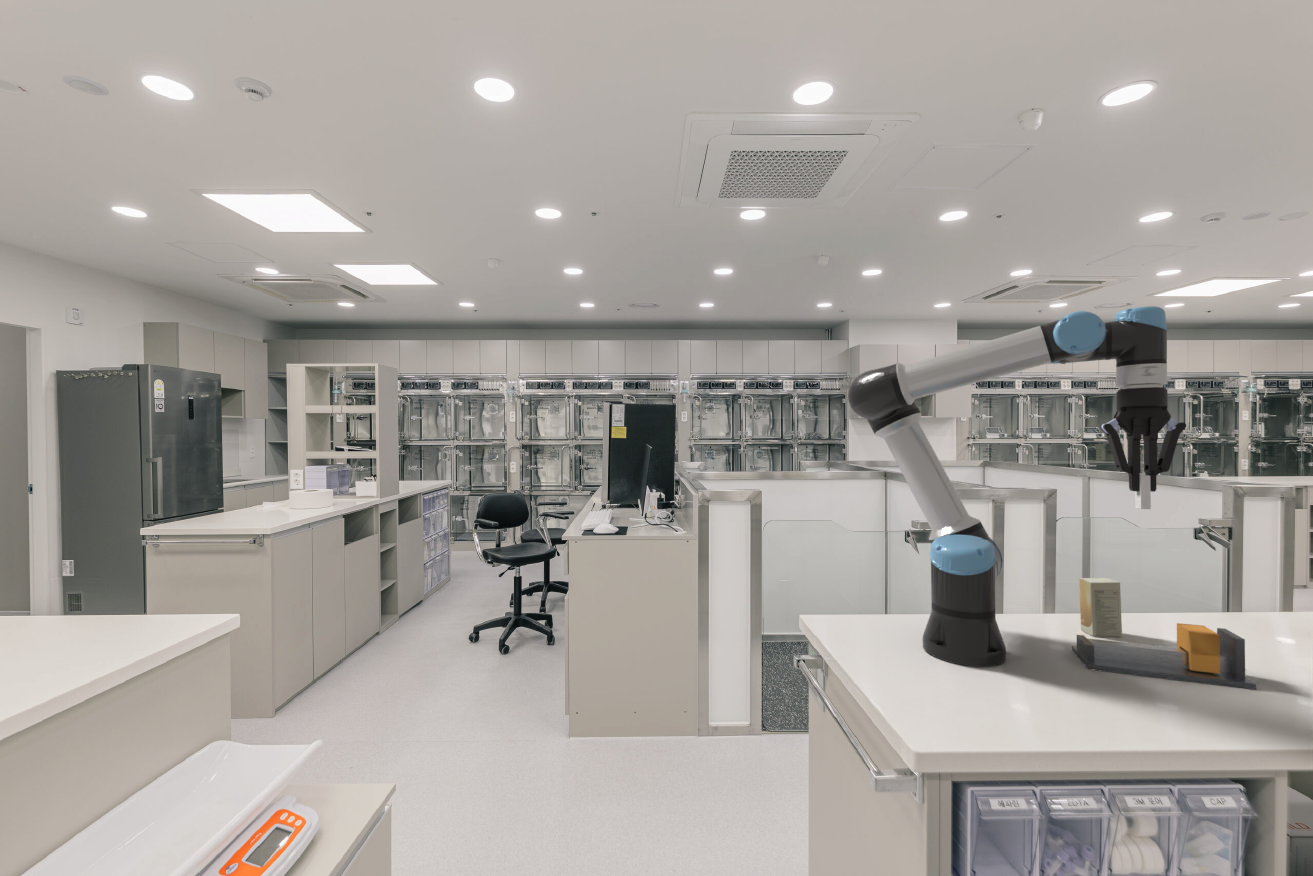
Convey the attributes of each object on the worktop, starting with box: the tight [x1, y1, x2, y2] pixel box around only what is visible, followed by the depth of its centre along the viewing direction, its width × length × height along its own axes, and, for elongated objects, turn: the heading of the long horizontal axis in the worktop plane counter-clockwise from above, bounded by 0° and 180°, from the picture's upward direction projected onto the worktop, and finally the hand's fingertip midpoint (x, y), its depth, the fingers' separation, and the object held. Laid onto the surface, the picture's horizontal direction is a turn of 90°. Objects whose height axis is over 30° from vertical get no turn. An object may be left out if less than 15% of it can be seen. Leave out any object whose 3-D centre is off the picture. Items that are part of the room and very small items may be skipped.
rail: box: [1071, 627, 1257, 690], centre depth 106 cm, size 24×10×8 cm, turn 68°
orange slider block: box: [1176, 622, 1220, 674], centre depth 103 cm, size 4×5×7 cm
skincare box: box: [1079, 577, 1123, 638], centre depth 124 cm, size 6×4×12 cm
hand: (1142, 508), depth 108 cm, fingers closed
